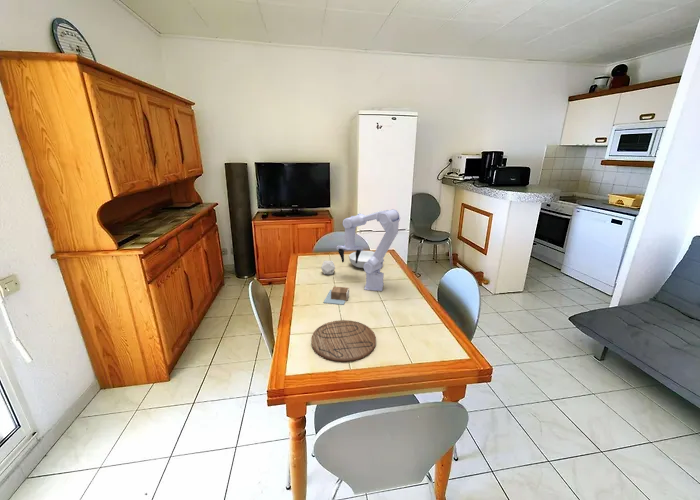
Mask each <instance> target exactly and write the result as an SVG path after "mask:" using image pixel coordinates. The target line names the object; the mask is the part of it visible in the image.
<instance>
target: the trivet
mask: <svg viewBox="0 0 700 500" xmlns="http://www.w3.org/2000/svg"><path fill="white" fill-rule="evenodd" d="M310 341H311V347H312V350H313V352H314V353H316V354H317V355H318V357H320V358H323V359H324V360H327V361H330V362H334V363H351V362H356V361H360V360H363V359H364V358H367V357H368V356H369V355H370V354H372V352H374V349H375V348H376V341H377V336H376V334H375V332H374V331H373V330H372V329H371V327H369V326H367V325H366V324H364V323H361V322H360V321H354V320H345V319H342V320H333V321H330V322H326V323H324V324H322V325H320V326H319V327H317V328H316V329H315V330H314V331H313V332H312V334H311V339H310Z"/></svg>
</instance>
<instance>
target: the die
mask: <svg viewBox="0 0 700 500" xmlns="http://www.w3.org/2000/svg"><path fill="white" fill-rule="evenodd" d="M320 268H321V270H322V273H323V275H326V276H327V275H331V276H332V275H334V272H335V269H336V266H335V263H334V261H333V260H323V262H322V265H321V267H320Z"/></svg>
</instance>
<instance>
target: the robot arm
mask: <svg viewBox="0 0 700 500" xmlns="http://www.w3.org/2000/svg"><path fill="white" fill-rule="evenodd" d="M400 220H401V217H400V214H399V211H398V210H397V209H394V208H392V209H386V210H379V211H376V212H372V213H369V214H366V215H365V214H364V213H360V212H359V213H357V215H351V216H350V217H346V218H344V219H343V220H342V226H343V228H344V244H343V245H337V246H336V250H337V251H338V252H337V253H338V254H339V256H340V259H341V262H342V263H344V262H345V251H354V252H356V263H357V261H358V257H359V255H360V252H361V251H364V247H363V246H357V245H356V230H357V228H358V227H361V226H364V225H366V224H367V222H369V221H370V222H371V221H377V222H379V224H380V225H381V226H382V228H383V230H384V231H385V233H384V235H383V236H382V238H381V240H380V242H379V244H378V246H377V247H376V249H375V251H374V252H375V253H374V254H373V256H372V257H371V258H370V259H369V260H368V261H367V262H366V263H365V264H364V268H363V271H364V272H365V275H366V276H365V285H364V288H363V289H364V290H366V291H367V290H368V291H376V292H383V288H384V285H385V283H384V276H385V272H382V271H381V269H382V268H383V266H384V262H385V259H384V257H385V256H386V254H387V252H388V251H389V249H390V248H391V245H392V244H393V242H394V240H395V239H396V238H397V235H398V233H399V226H400V225H399V224H400V223H399V222H400Z"/></svg>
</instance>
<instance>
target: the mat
mask: <svg viewBox="0 0 700 500" xmlns="http://www.w3.org/2000/svg"><path fill="white" fill-rule="evenodd" d="M331 291H332V289H329V291H328V292H327V295H326V297H325V298H324V301H323V304H329V305H341V306H344V305H345V303H346V301H347V300H336V299H331Z"/></svg>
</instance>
